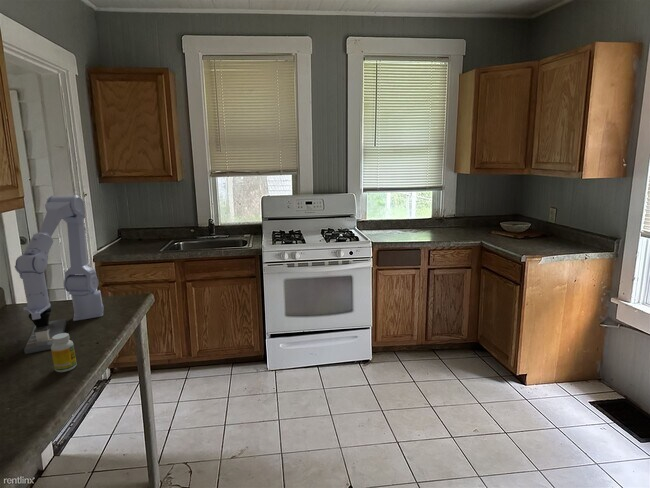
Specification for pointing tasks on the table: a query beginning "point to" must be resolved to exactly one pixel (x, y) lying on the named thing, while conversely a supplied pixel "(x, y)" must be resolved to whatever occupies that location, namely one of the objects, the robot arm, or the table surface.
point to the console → (35, 346)
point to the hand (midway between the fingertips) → (43, 333)
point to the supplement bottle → (63, 353)
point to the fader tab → (42, 333)
